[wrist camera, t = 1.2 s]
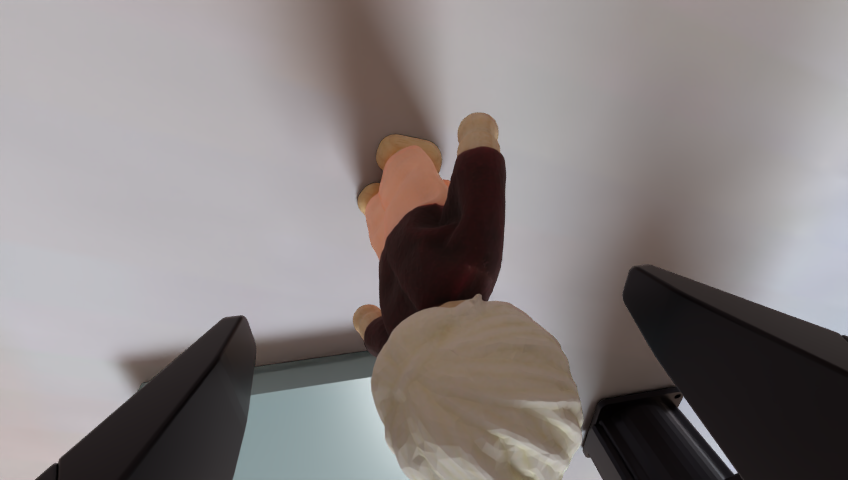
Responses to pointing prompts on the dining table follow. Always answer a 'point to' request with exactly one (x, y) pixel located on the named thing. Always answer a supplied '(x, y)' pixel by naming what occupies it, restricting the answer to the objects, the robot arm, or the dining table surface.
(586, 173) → the dining table surface
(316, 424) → the slate tray
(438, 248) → the grandmother figurine
